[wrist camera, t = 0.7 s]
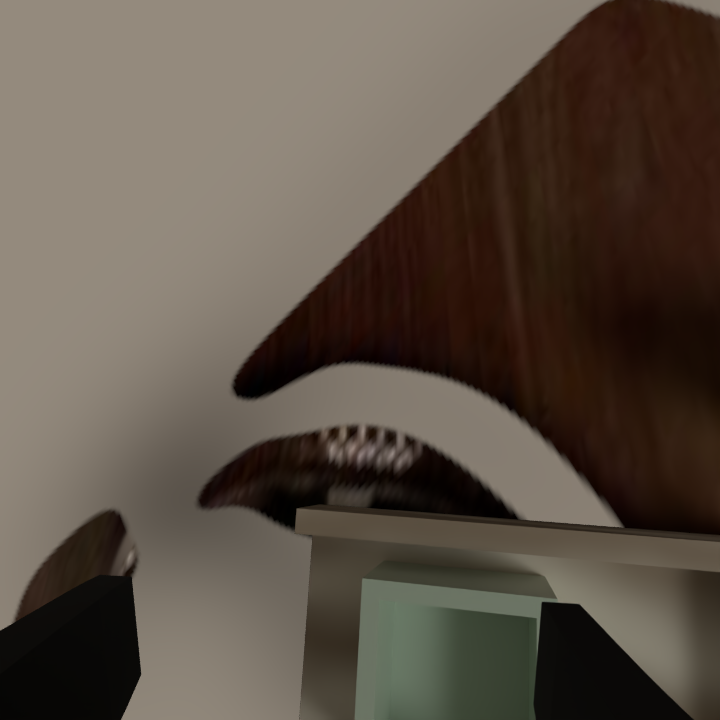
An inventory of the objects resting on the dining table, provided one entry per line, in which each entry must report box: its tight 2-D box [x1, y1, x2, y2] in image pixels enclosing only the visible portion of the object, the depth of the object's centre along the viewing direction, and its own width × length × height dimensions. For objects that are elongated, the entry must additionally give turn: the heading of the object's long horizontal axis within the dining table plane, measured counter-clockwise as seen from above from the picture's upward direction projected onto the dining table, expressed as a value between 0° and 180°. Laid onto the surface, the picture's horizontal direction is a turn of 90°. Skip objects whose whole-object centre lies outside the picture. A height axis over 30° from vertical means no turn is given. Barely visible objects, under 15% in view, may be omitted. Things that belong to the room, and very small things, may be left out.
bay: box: [295, 504, 720, 720], centre depth 26 cm, size 14×22×4 cm, turn 87°
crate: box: [355, 561, 558, 720], centre depth 25 cm, size 9×8×5 cm
